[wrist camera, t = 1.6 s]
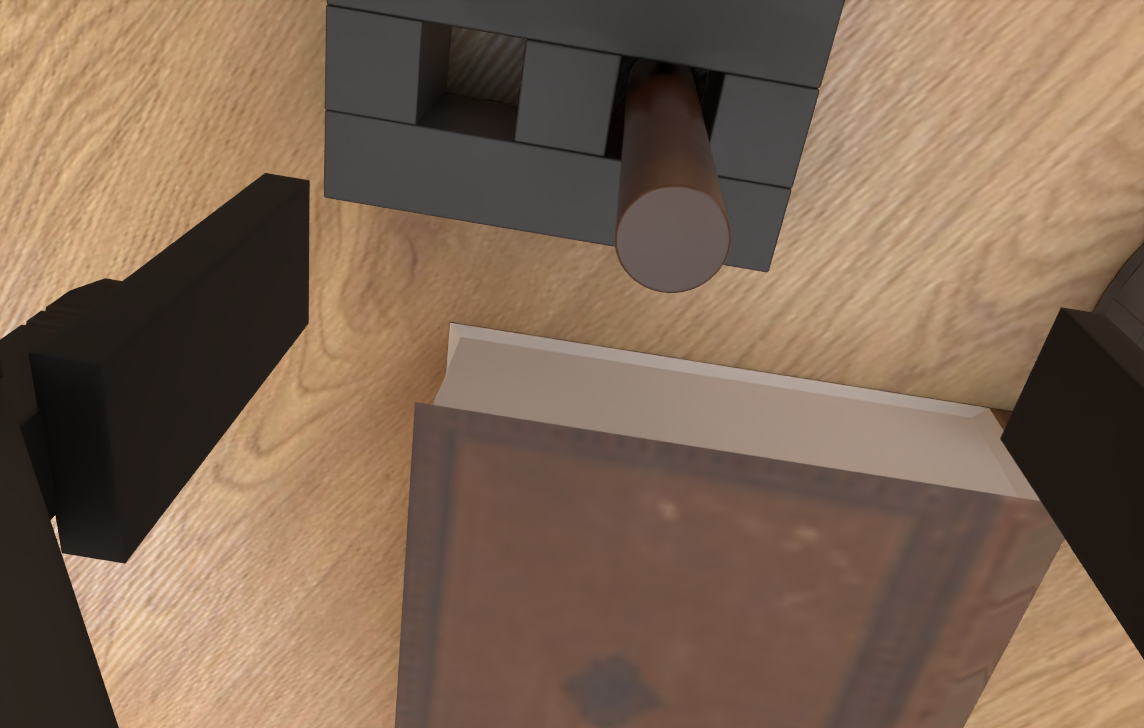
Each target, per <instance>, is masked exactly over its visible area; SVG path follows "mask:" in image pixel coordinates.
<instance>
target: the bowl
mask: <svg viewBox="0 0 1144 728" xmlns="http://www.w3.org/2000/svg"><path fill="white" fill-rule="evenodd" d="M1093 313H1097V314H1103V315H1105V316H1106V317H1107V318H1109V319H1110V320H1111V321H1112V322H1113V323H1114V324H1115V325H1116V326H1117V327H1118V328H1119V329H1121V330H1122V331H1123V332H1124V333H1125V334H1126V335H1127V336H1128V337H1129V338H1130V339H1131V340H1132V341H1134V342H1135V343H1136V344H1137V345H1138V346H1139V347H1140V348H1141V349H1142V350H1143V351H1144V244H1143V245H1142V246H1141V247H1140V248H1139V249H1138V251H1137V252H1136V253H1135V254H1134V255H1133V256H1132V257H1131V258H1130V259H1129V260H1128V262H1127V263H1126V264H1125V265H1124V266H1123V267H1122V269H1121V270H1120V272H1119V273H1118V274H1117V276H1116V277H1115V278H1114V280H1113V281H1112V282H1111V284H1110V285H1109V287H1108V288H1107V289H1106V291H1105V293H1104V294H1103V296H1102V298H1101V300H1100V301H1099V303H1098V305H1097V307H1096V308H1095V310H1094V312H1093Z"/></svg>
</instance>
